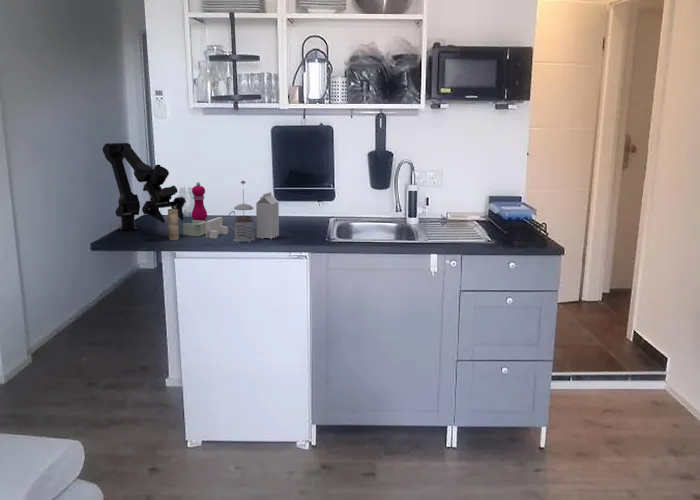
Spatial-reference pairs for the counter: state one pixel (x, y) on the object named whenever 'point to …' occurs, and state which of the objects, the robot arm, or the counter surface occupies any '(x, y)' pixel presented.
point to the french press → (247, 223)
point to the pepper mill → (199, 203)
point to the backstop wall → (215, 228)
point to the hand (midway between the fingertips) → (173, 220)
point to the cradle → (194, 228)
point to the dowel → (173, 224)
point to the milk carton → (267, 217)
